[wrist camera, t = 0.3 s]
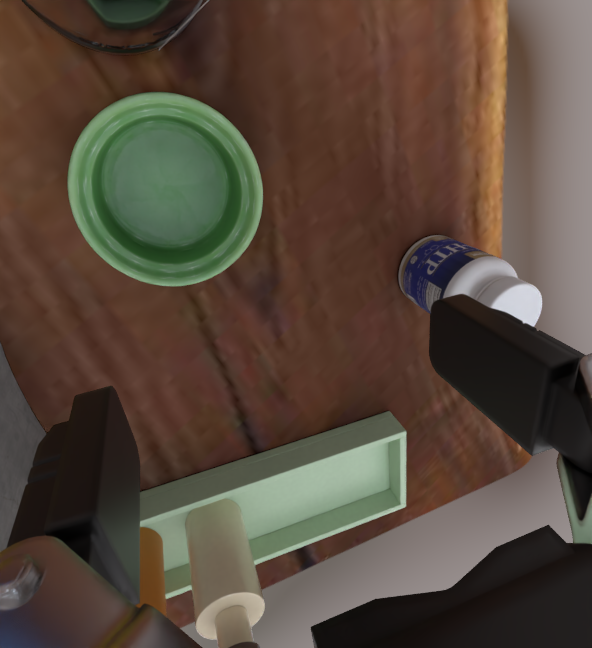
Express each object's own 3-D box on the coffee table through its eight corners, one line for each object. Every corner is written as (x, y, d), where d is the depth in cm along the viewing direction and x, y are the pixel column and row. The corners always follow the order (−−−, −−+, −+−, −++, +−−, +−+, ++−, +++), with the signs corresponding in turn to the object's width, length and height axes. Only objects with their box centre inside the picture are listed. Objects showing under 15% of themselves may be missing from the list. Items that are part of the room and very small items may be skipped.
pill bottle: (451, 221, 31) (552, 256, 24) (462, 282, 34) (555, 331, 26) (388, 253, 31) (470, 298, 23) (404, 312, 33) (481, 370, 26)
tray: (55, 519, 31) (48, 552, 29) (389, 410, 37) (406, 430, 35) (98, 592, 36) (95, 626, 33) (391, 484, 42) (406, 507, 39)
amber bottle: (91, 539, 32) (69, 729, 22) (153, 518, 33) (159, 690, 23) (111, 576, 34) (98, 764, 24) (169, 555, 35) (180, 727, 25)
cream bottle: (178, 510, 34) (194, 675, 24) (235, 490, 35) (274, 641, 25) (192, 547, 36) (211, 713, 26) (245, 527, 37) (284, 680, 27)
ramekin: (248, 104, 24) (268, 103, 20) (243, 261, 28) (259, 284, 24) (68, 85, 21) (52, 79, 17) (89, 263, 25) (80, 290, 21)
